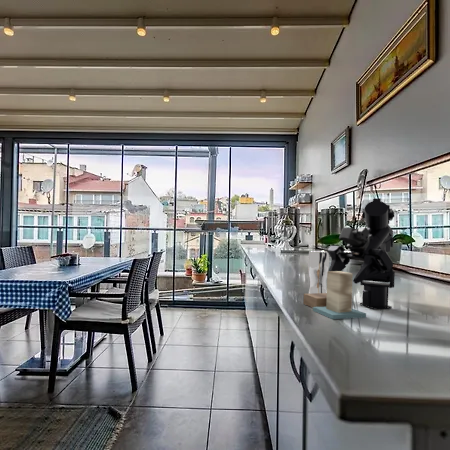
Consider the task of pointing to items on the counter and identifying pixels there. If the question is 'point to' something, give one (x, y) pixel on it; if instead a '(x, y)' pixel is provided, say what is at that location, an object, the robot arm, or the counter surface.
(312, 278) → the beer glass
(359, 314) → the teal mat
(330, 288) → the maple block
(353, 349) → the counter surface
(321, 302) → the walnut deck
